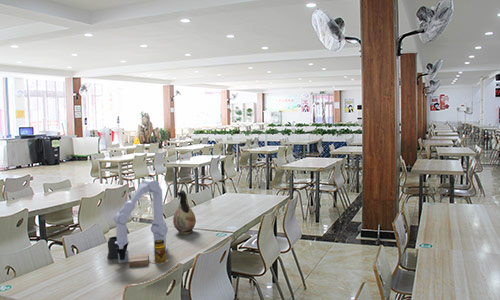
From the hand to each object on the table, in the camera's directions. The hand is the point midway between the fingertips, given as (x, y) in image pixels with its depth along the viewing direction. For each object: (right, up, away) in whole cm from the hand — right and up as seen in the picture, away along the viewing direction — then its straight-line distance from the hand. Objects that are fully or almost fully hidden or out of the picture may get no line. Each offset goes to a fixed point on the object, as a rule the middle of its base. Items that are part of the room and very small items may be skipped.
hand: (123, 257), depth 231 cm
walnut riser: (+10, -2, -4) cm, 11 cm away
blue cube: (0, -2, 0) cm, 2 cm away
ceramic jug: (+27, +4, +51) cm, 58 cm away
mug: (-7, -2, +9) cm, 11 cm away
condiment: (+21, -2, -2) cm, 21 cm away
